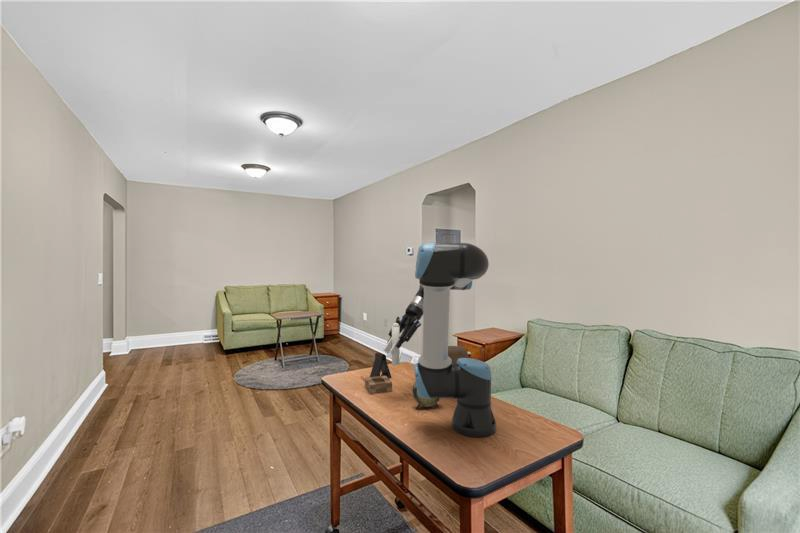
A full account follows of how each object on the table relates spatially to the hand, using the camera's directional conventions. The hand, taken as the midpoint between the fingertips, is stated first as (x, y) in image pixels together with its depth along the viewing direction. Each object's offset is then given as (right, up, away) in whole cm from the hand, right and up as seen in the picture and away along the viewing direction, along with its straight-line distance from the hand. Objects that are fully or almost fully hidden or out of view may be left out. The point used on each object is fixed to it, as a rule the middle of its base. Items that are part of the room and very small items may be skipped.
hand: (388, 352), depth 149 cm
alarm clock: (+15, -21, -5) cm, 26 cm away
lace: (-12, -19, +24) cm, 33 cm away
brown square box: (-5, -20, +14) cm, 25 cm away
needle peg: (+3, -6, +3) cm, 7 cm away
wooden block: (+28, -20, +9) cm, 36 cm away
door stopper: (-5, -20, +29) cm, 35 cm away
